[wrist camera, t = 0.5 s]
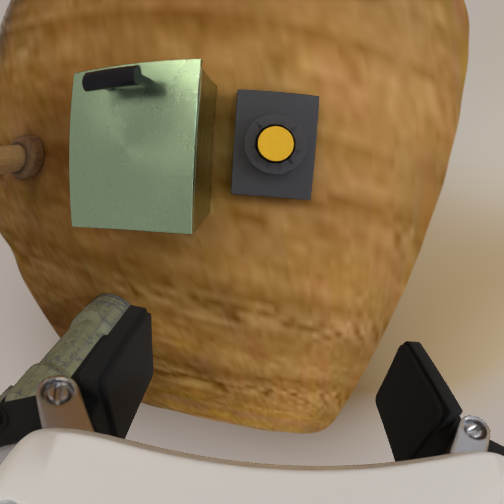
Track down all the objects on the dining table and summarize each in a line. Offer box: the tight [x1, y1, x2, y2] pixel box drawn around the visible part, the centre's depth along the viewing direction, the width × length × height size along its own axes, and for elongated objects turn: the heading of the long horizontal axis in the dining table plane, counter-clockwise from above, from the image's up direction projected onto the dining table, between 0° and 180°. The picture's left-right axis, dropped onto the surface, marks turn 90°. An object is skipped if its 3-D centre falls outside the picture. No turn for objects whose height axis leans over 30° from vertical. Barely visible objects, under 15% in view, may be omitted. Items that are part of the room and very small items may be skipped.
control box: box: [231, 90, 319, 200], centre depth 33 cm, size 12×9×4 cm
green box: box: [194, 70, 217, 231], centre depth 31 cm, size 16×14×9 cm
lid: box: [69, 59, 203, 234], centre depth 24 cm, size 16×14×5 cm
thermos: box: [0, 293, 130, 403], centre depth 27 cm, size 9×12×35 cm
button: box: [258, 126, 294, 161], centre depth 31 cm, size 4×4×2 cm
